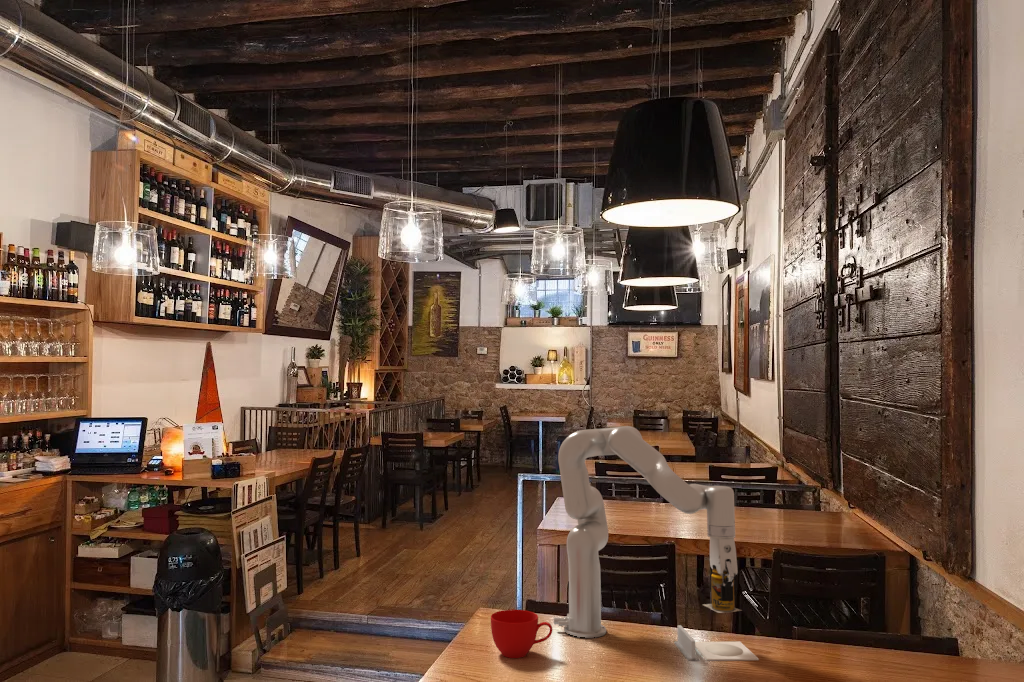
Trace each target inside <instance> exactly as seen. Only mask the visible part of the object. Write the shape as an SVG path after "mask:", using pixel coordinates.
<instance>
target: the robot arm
mask: <svg viewBox="0 0 1024 682" xmlns="http://www.w3.org/2000/svg"><path fill="white" fill-rule="evenodd" d="M614 455H616V456H617V457H619V458H620V459H621V460H623V461H624V462H625V463H626V464H628V465H629V466H630V467H631V468H633V469H634V470H635V471H636V472H637V473H638V474H640V476H642V477H643V478H644V479H645V480H646V481H647V483H648V484H650V486H651V487H652V488H653V489H654V490H655V491H656V493H658V494H659V495H660V496H661V497H662V498H663V499H665V500H666V501H667V502H668V503H670V504H671V505H672V506H673V507H674V508H676V509H677V510H678V511H680V512H682V513H684V514H688V515H692V514H693V515H694V514H695V513H697V512H699V511H701V510H706V523H707V524H706V525H707V526H706V530H707V531H706V533H707V537H708V538H709V565H710V568H711V571H712V570H713V567H712V566H713V565H715V566H716V570H717V573H719V574H720V575H721V580H722V585H721V600H722V601H733V578H734V577H735V576H736V575H738V560H737V549H736V543H735V538H736V519H735V517H736V515H735V509H736V508H735V492H734V489H733V488H732V487H730V486H728V485H727V486H726V485H704V484H698V483H687V482H686V481H685V480H684V479H682V477H680V476H679V475H678V474H676V472H674V471H673V469H672V468H671V467H670V466H669V464H668V462H667V459H666V458H665V456H664V455H663V454H662V453H661V452H660V451H658V450H657V449H656V448H655V447H653V446H652V445H651V444H649V442H647V441H645V440H644V439H643V436H642V434H641V432H640V430H638V429H637V428H636V427H634V426H630V425H626V426H625V425H624V426H623V425H622V426H617V427H606V428H604V427H603V428H593V429H592V428H591V429H581V430H577V431H575V432H572V433H570V434H569V435H568V436H567V437H566V438H565V439H564V440H563V441H562V443H561V445H560V447H559V450H558V456H557V458H558V459H557V461H558V467H559V472H560V482H561V487H562V489H561V490H562V495H563V502H564V503H563V504H564V508H565V511H566V513H567V515H568V516H569V517H570V518H572V519H573V520H577V525H575V526H574V527H573V528H571V529H570V531H569V533H568V534H567V538H566V553H567V560H568V561H567V562H568V563H567V564H568V613H566V616H564V617H553V625H558V627H563V631H565V632H566V633H568V634H570V635H574V636H577V637H576V638H580V637H585V638H584V639H594V637H595V638H599V637H602V636H604V635H605V634H607V628H606V626H605V625H603V624H602V604H601V603H602V602H601V601H602V600H601V599H602V598H601V597H602V594H601V593H602V591H601V590H602V588H601V586H602V585H601V583H602V582H601V564H600V557H599V551H601V550H602V549H604V548H605V546H606V545H607V543H608V541H609V528H608V527H609V526H608V521H607V515H606V508H605V503H604V499H603V496H602V494H601V492H600V491H599V490H598V489H597V488H596V487H594V486H593V485H591V484H590V478H589V477H590V476H589V471H588V468H587V464H586V459H588V458H592V457H597V456H598V457H599V456H614ZM723 572H727V574H723ZM724 577H726V578H725V579H724ZM734 579H735V578H734ZM565 632H564V633H565ZM566 633H565V634H566ZM568 634H567V635H568ZM570 635H569V636H570ZM574 636H573V637H574Z"/></svg>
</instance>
